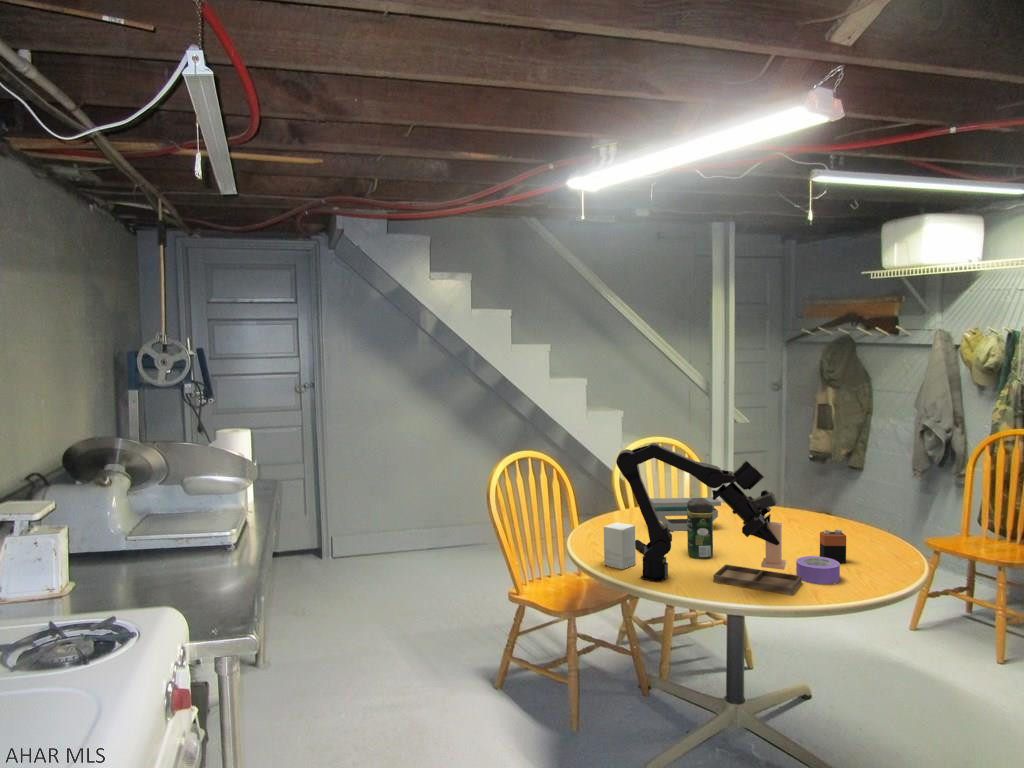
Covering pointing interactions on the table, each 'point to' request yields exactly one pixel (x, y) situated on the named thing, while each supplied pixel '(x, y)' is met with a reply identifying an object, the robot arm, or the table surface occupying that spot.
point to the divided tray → (758, 579)
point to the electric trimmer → (640, 546)
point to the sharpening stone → (677, 511)
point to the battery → (833, 545)
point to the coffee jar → (700, 528)
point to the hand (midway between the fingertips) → (778, 542)
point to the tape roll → (818, 570)
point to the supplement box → (619, 545)
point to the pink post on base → (774, 549)
